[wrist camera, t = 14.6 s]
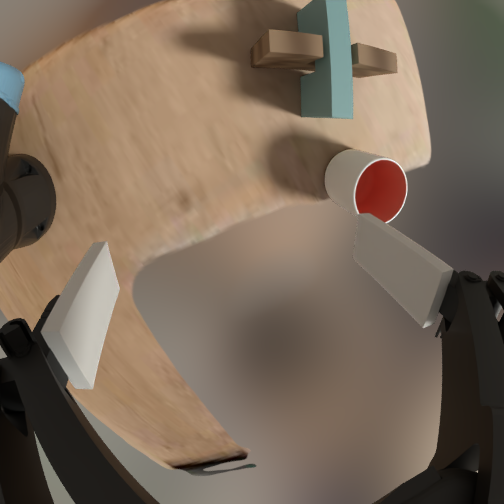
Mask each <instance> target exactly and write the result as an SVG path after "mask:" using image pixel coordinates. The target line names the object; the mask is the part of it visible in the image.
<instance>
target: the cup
mask: <svg viewBox="0 0 504 504" xmlns="http://www.w3.org/2000/svg"><path fill="white" fill-rule="evenodd" d="M325 188H326V191H327V193H328V195H329V197H330V198H331V200H333V202H335V203H336V204H337V205H339V206H340V207H342V208H343V209H345V210H347V211H348V212H350V213H351V214H353V215H354V216H356V217H357V218H358V214H362V213H370V214H372V215H373V216H375V217H377V218H378V219H380V220H382V221H383V222H385V223H388V222H389V221H391V220H392V219H394V218H395V217H396V215H397V214H398V213H399V212H400V210H401V209H402V207H403V205H404V202H405V199H406V196H407V179H406V175H405V173H404V171H403V169H402V167H401V166H400V165H399V164H398V163H397V162H396V161H394V160H392V159H390V158H387V157H383V156H379V155H376V154H372V153H368V152H364V151H360V150H355V149H349V150H344V151H342V152H340V153H338V154H337V155H336V156H334V157H333V159H332V160H331V161H330V163H329V164H328V166H327V169H326V172H325Z"/></svg>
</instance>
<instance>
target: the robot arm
mask: <svg viewBox="0 0 504 504" xmlns="http://www.w3.org/2000/svg"><path fill="white" fill-rule="evenodd" d="M23 88H24V76H23V74H22V73H21V72H20V71H19V70H18V69H16V68H14V67H12V66H10V65H8V64H5V63H3V62H0V262H1V261H2V260H3V259H4V258H5V257H6V256H7V255H8V254H9V253H10V252H11V251H12V250H13V249H17V248H21V247H25V246H29V245H31V244H33V243H35V242H36V241H38V240H39V239H40V238H41V237H42V236H43V235H44V234H45V233H46V232H47V231H48V229H49V228H50V226H51V224H52V222H53V219H54V215H55V210H56V194H55V189H54V185H53V182H52V179H51V177H50V175H49V173H48V171H47V169H46V168H45V167H44V165H43V164H42V163H41V162H40V161H38V160H37V159H36V158H34V157H32V156H30V155H26V154H18V155H14V156H11V157H8V152H9V147H10V142H11V137H12V133H13V128H14V124H15V120H16V116H17V115H18V113H19V108H18V107H19V103H20V99H21V95H22V92H23ZM353 259H354V260H355V261H356V262H357V263H358V264H359V265H360V266H361V267H363V268H364V270H365V271H367V272H368V273H369V274H370V275H371V276H372V277H373V278H374V279H375V280H376V281H377V282H378V283H379V284H380V285H381V286H382V287H383V288H384V289H385V290H386V291H387V292H388V293H389V294H390V295H391V296H392V297H393V298H394V299H395V300H396V301H397V302H398V303H399V304H400V305H401V306H402V307H403V308H404V309H405V310H406V311H407V312H408V313H409V314H410V315H411V316H412V317H413V318H414V319H415V320H416V321H417V322H418V323H419V324H420V325H421V327H423V328H424V327H427V326H429V325H432V324H434V323H435V320H436V318H437V315H438V313H439V312H440V313H441V314H442V315H443V318H442V320H441V323H440V325H439V328H438V330H437V332H436V335H435V337H437V336H438V334H439V333H440V332H441V336H440V338H442V401H441V415H440V426H439V435H438V442H437V449H436V453H435V455H434V457H433V459H432V460H431V462H430V464H429V466H428V468H427V469H426V470H425V471H423V472H422V473H420V474H418V475H417V476H415V477H413V478H412V479H410V480H408V481H406V482H405V483H403V484H401V485H400V486H398V487H397V488H396V489H394V490H393V491H391V492H390V493H388V494H387V495H385V496H384V497H382V498H381V499H379V500H377V501H376V502H374V503H372V504H504V313H503V315H502V317H501V319H500V321H499V322H498V321H497V319H496V318H497V316H498V314H499V312H500V310H501V308H503V310H504V273H503V272H501V271H492V272H491V273H490V275H489V278H488V281H483V280H482V279H481V278H480V277H479V276H478V275H476V274H475V273H473V272H469V271H461V272H459V273H457V272H456V271H455V270H454V269H453V268H451V267H450V266H449V265H447V264H446V263H444V262H443V261H442V260H440V259H439V258H437V257H436V256H435V255H433V254H432V253H430V252H429V251H427V250H426V249H424V248H423V247H422V246H420V245H419V244H417V243H416V242H414V241H413V240H411V239H410V238H408V237H407V236H405V235H404V234H402V233H400V232H399V231H397V230H396V229H394V228H393V227H391V226H390V225H388V224H386V223H385V222H383V221H382V220H380V219H378V218H377V217H375V216H373V215H372V214H370V213H362V214H358V220H357V229H356V237H355V245H354V252H353ZM119 290H120V288H119V284H118V281H117V278H116V274H115V271H114V267H113V263H112V259H111V256H110V252H109V248H108V244H107V241H103V242H97V243H93V244H92V246H91V247H90V249H89V250H88V252H87V253H86V255H85V256H84V258H83V259H82V261H81V262H80V264H79V265H78V267H77V268H76V270H75V272H74V273H73V275H72V276H71V278H70V280H69V281H68V283H67V285H66V286H65V288H64V290H63V291H62V293H61V295H56V296H55V297H54V298H53V299H52V300H51V301H50V302H49V303H48V305H47V306H46V308H45V310H44V312H43V313H42V315H41V319H39V321H38V323H37V324H36V326H35V328H34V330H33V332H32V331H31V330H30V328H29V326H28V324H27V322H26V321H25V320H24V319H21V318H18V319H13V320H11V321H9V322H7V323H6V324H5V325H3V326H2V328H1V329H0V345H1V347H2V349H3V351H4V352H5V354H6V355H7V357H6V358H2V359H0V504H54V502H53V499H52V497H51V494H50V491H49V488H48V485H47V482H46V478H45V476H44V472H43V468H42V465H41V461H40V457H39V453H38V448H37V444H36V439H35V434H36V436H37V438H38V440H39V442H40V444H41V446H42V448H43V450H44V452H45V454H46V456H47V458H48V460H49V462H50V463H51V465H52V467H53V469H54V470H55V472H56V474H57V476H58V477H59V479H60V481H61V482H62V484H63V486H64V487H65V489H66V490H67V492H68V493H69V495H70V496H71V498H72V499H73V501H74V502H75V504H160V503H159V502H157V501H156V500H155V499H154V498H153V497H152V496H151V495H150V494H149V493H148V492H147V491H146V490H145V489H144V488H143V487H142V486H141V485H140V484H139V483H138V482H137V481H136V479H135V478H133V476H132V475H131V474H130V473H129V472H128V471H127V470H126V468H125V467H124V466H123V465H122V464H121V463H120V462H119V460H118V459H117V458H116V457H115V456H114V455H113V453H112V452H111V451H110V449H109V448H108V447H107V446H106V444H105V443H104V442H103V440H102V439H101V438H100V437H99V436H98V434H97V432H96V431H95V430H94V428H93V427H92V426H91V424H90V423H89V421H88V420H87V418H86V417H85V415H84V414H83V412H82V411H81V409H80V408H79V406H78V405H77V403H76V402H75V400H74V398H73V397H72V395H71V393H70V392H69V390H68V389H67V388H66V385H67V381H68V379H69V380H70V382H71V383H72V385H73V386H74V388H75V389H93V385H94V381H95V376H96V372H97V367H98V363H99V359H100V355H101V351H102V347H103V343H104V340H105V336H106V332H107V329H108V325H109V322H110V319H111V315H112V312H113V309H114V305H115V302H116V299H117V296H118V293H119ZM34 431H35V434H34ZM477 470H478V473H477V472H476V471H477Z"/></svg>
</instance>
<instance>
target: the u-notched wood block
mask: <svg viewBox="0 0 504 504" xmlns="http://www.w3.org/2000/svg"><path fill="white" fill-rule="evenodd" d="M322 57H323V41H322V35H315V34H309V33H301V32H293V31H284V30H272V29H269V30H268V31H267V32H266V33H265V34H264V35H263V36H262V37H261V38H260V40H259V41H258V42H257V43H256V44H255V45H254V46H253V47H252V48H251V67H257V68H283V69H297V70H308V71H315V60H317V59H320V58H322ZM351 57H352V77H357V78H362V77H368V76H376V75H383V74H392V73H397V57H396V53H392V52H389V51H386V50H383V49H379V48H376V47H372V46H368V45H364V44H360V43H356V44H353V45H351Z"/></svg>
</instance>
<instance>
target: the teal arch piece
mask: <svg viewBox="0 0 504 504" xmlns="http://www.w3.org/2000/svg"><path fill="white" fill-rule="evenodd" d="M297 21H298V32H301V33H309V34H315V35H322V41H323V57H322V58H320V59H317V60H315V72H313V73H310V74H307V75H304V76H302V77H300V80H301V117H314V118H342V119H353V79H352V57H351V43H350V31H349V20H348V11H347V3H346V0H312V1H311V2H310V3H309V4H307V5H306V6H305V7H304V8H303V9H301V10H300V11H299V12H298V13H297Z"/></svg>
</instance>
